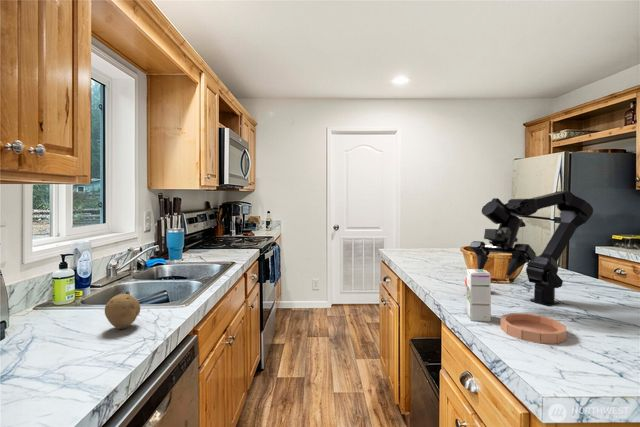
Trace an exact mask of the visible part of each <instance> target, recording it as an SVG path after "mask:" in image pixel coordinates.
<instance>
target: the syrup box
mask: <svg viewBox="0 0 640 427" xmlns="http://www.w3.org/2000/svg"><path fill="white" fill-rule="evenodd" d="M466 277H467V287H466V314H467V316H468V318H469V319H470V321H473V322H474V321H475V322H489V323H490V322H491V319H492V313H491V312H492V308H491V307H492V306H491V305H492V303H491V302H492V294H491V289H492V288H491V286H492V285H491V283H492V282H491V273H490V272H489V271H487V270H486V269H483V270H482V269H478V268H476V269H475V268H472V269H471V268H470V269H466Z"/></svg>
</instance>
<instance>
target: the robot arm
mask: <svg viewBox="0 0 640 427" xmlns="http://www.w3.org/2000/svg"><path fill="white" fill-rule="evenodd" d="M553 206H556V208H557V209H558V210H559V211H560V213H559V216H560V222H559V224H558V226H557V227H556V229H555V231H554V233H553V234H552V236H551V237H550V239H549V241H548V243H547V245H546V246H545V248H544V250H543V251H542V253H541V254H539V255H538V256H537V254H536V252H535V251H534V249H533V248H532V247H531V245H530V244H527V243H518V238H517V235H518V233H519V230H520V228H525V227H526V226H527V225H526V222H524V220H523V218H519V217H529V216H532V215H533V214H535V213H537V212H538V211H539V210H541V209H544V208H549V207H553ZM481 214H482V215H483V216H484V217H485V218H487V219H488V220H489V221H491V222H492V223H493V224H495V225H499V226H498V229H497V228H485V229H484V235H483V239H484V240H488V243H489V244H490V245H487V244H486V243H485V242H484V241H479V240H475V241H474V240H473V241H471V242H470V245H469V248H470V250H471V251H473V253H474V254H475V255H476V258H477V260H476V261H477V269H482V270H484V267H485V265H486V264H487V262H488V259H489V255H490V253H500V254H511V260H510V261H509V265H508V268H507V271H506V276H507V277H510V276H512V275H513V274H514V273H515V272H516V271H517V270H518V269H520V268H521V267H522V266H523V265H525V264H526V267H525V271H526V275H527V279H528V282H529V283H532V284H534V290H533V294H534V295H533V296H534V297H533V298H530V299H529V301H530V302H533V303H537V304H541V305H543V306H547V307H548V306H553V305H557V304H560V301H558V300H556V299H555V298H556V289H559V288H561V287H562V286H563V283H564V281H563V279H562V278H561V277H560V276H559V275H558V272H559V266H558V260H559V259H560V258H561V256H562V254H563V252H564V251H565V249H566V247H567V246H568V244H569V241H570V240H571V239H572V237H573V235H574V233H575V232H576V230H577V229H578V228H579V227H581V226H582V225H583V224H586V223H587V222H588V221H589V219H590V218H591V217H592V215H593V214H594V207H593V206H592V205H591V204H590V203H589V202H587V200H585V199H583V198H581V197H579V196H576V195H575V194H573V192H572V191H569V190H563V191H561V190H559V191H555V192H551V193H547V194H544V195H539V196H535V197H531V198H511V199H509V200H508V201H507V203H505V204H504V202H502V201H501V200H500V199H499V198H498V197H496V198H495V197H494V198H492V200H491V201H488V202H487V203H486V204H485V205H483V206H482V208H481Z"/></svg>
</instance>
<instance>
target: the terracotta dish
mask: <svg viewBox="0 0 640 427" xmlns="http://www.w3.org/2000/svg"><path fill="white" fill-rule="evenodd" d="M500 329H501V331H503V332H504V333H505V334H506V335H509V336H511V337H513V338H517V339H519V340H522V341H526V342H532V343H537V344H551V345H552V344H561V343H564V342H566V341H567V334H568V331H567V330H568V329H567V325H565V324H564V323H562V322H561V321H558V320H556V319H553V318H550V317H546V316H545V315H540V314H539V315H538V314H534V313H533V314H532V313H525V312H524V313H522V312H521V313H520V312H511V313H507V314H503V315H501V318H500ZM563 341H564V342H563ZM560 342H561V343H560Z"/></svg>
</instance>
